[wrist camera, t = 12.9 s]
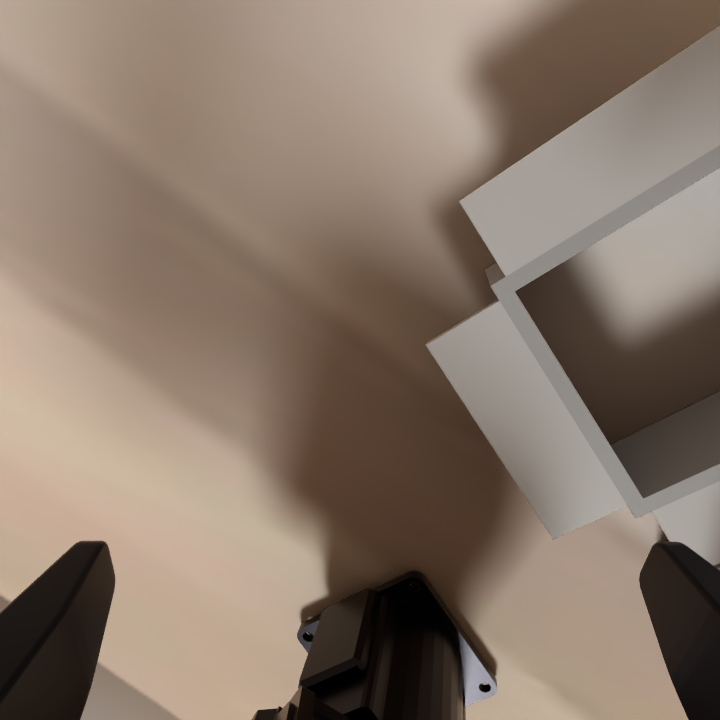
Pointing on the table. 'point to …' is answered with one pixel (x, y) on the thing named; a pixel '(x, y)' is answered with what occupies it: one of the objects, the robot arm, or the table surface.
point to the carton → (529, 348)
